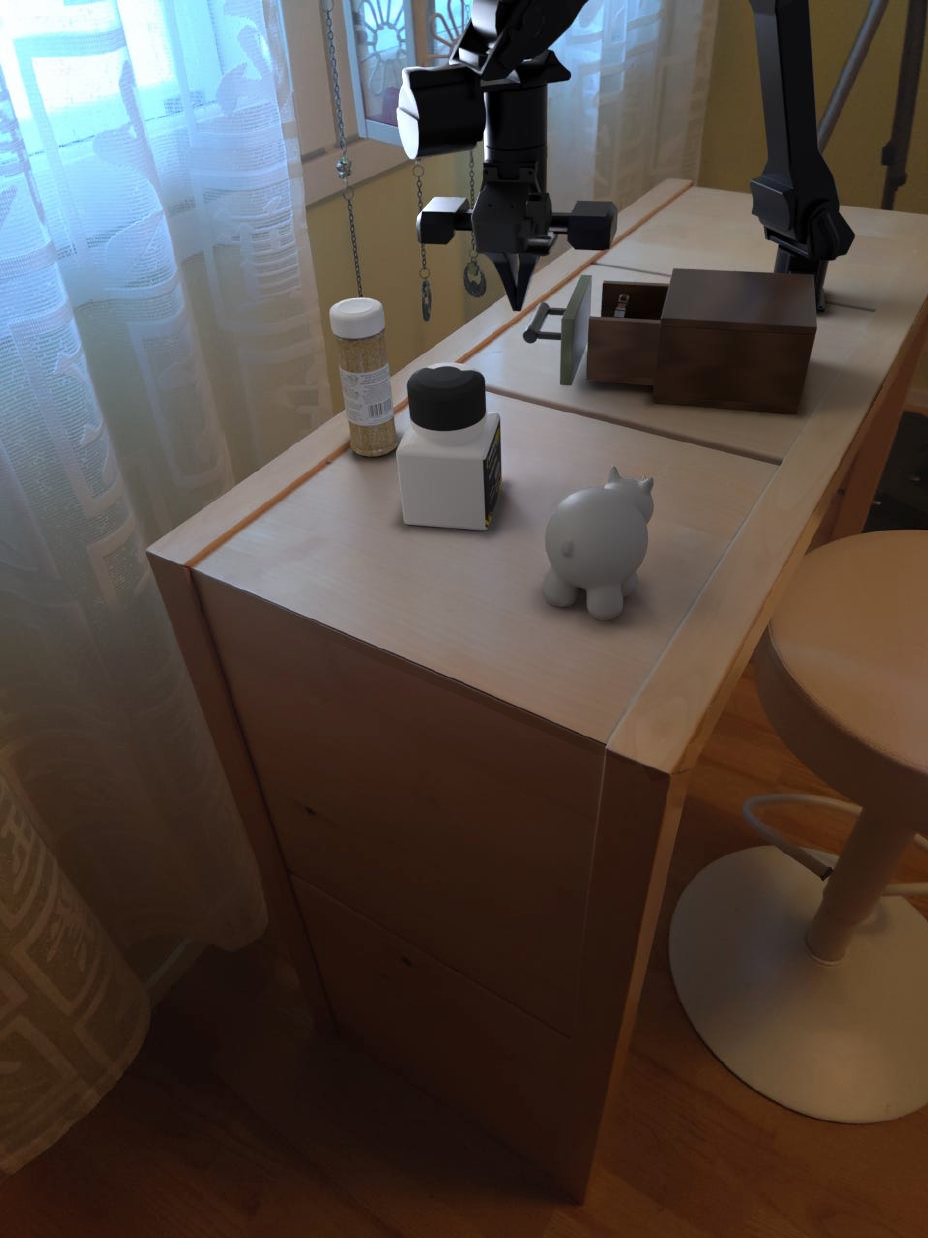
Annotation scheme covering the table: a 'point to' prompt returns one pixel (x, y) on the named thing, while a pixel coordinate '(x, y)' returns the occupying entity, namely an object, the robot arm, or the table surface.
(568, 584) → the chubby cartoon animal
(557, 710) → the table surface
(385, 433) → the sprinkles bottle
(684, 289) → the cabinet
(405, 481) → the medicine bottle
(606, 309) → the drawer
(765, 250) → the table surface
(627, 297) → the wooden post with brackets
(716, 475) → the table surface
